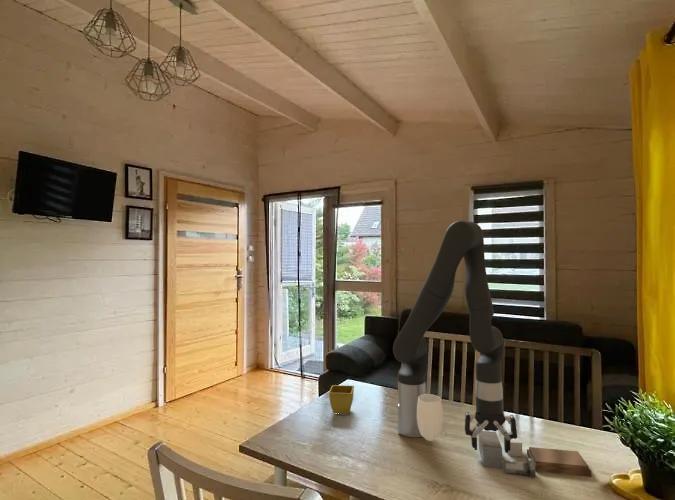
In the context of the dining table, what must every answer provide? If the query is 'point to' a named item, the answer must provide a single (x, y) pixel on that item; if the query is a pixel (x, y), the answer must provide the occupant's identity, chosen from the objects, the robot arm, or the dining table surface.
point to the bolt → (520, 467)
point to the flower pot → (341, 398)
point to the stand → (559, 461)
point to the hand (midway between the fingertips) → (490, 450)
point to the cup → (430, 416)
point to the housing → (490, 450)
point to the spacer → (515, 447)
